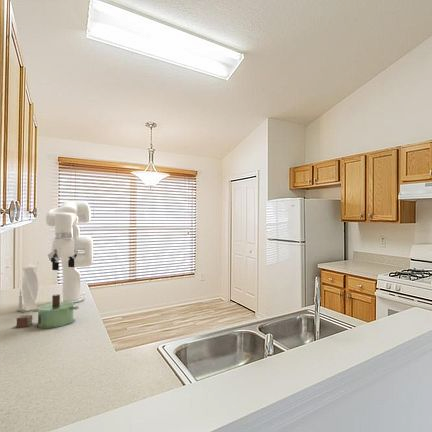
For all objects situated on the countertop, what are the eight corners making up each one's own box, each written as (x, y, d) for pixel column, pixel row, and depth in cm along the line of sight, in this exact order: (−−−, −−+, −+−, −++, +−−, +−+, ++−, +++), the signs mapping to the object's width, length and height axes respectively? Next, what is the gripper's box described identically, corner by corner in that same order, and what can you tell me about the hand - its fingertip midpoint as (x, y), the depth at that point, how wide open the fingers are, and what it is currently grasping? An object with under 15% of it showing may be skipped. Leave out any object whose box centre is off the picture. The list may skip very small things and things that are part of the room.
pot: (40, 320, 170) (40, 304, 170) (82, 317, 175) (82, 301, 175) (25, 329, 156) (25, 312, 156) (72, 326, 161) (72, 309, 161)
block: (21, 324, 163) (21, 315, 163) (32, 323, 165) (32, 314, 165) (16, 327, 159) (16, 318, 159) (27, 326, 160) (27, 317, 160)
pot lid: (45, 305, 171) (45, 292, 171) (78, 303, 175) (78, 290, 175) (30, 313, 156) (30, 300, 156) (67, 311, 160) (67, 297, 160)
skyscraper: (34, 306, 195) (34, 261, 195) (41, 308, 191) (41, 262, 191) (17, 310, 187) (18, 263, 187) (24, 312, 183) (24, 264, 183)
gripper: (71, 235, 177) (71, 265, 177) (42, 237, 160) (42, 271, 160) (83, 235, 176) (83, 266, 176) (55, 237, 159) (55, 271, 159)
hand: (63, 268), depth 168 cm, fingers open, 9 cm apart
